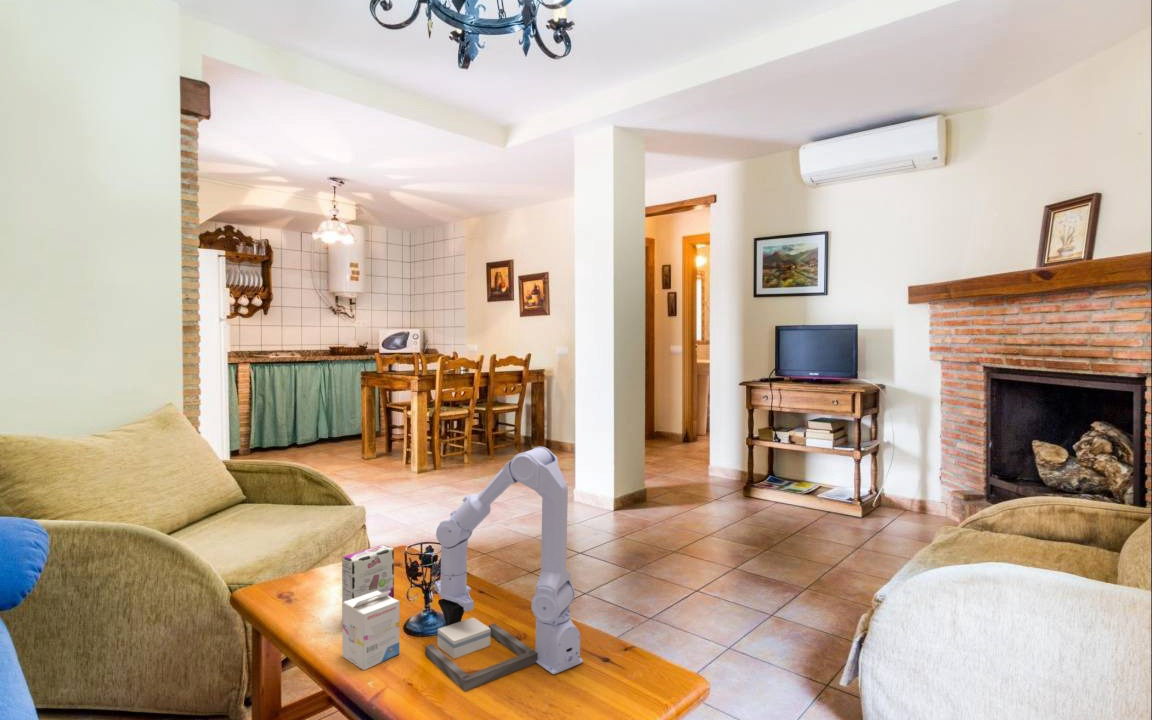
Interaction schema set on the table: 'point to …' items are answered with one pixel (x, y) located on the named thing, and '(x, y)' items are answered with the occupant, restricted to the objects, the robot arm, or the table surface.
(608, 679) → the table surface
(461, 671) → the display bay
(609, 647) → the table surface
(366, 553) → the candy bar box
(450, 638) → the carton
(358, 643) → the ink box
